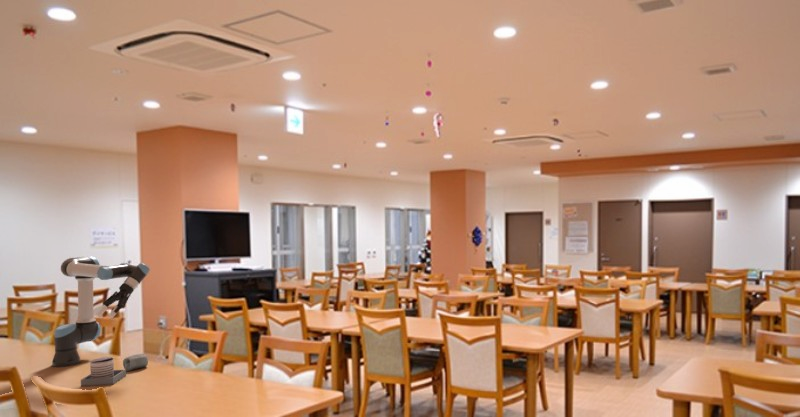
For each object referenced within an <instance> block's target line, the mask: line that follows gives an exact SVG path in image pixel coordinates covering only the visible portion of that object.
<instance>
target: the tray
mask: <svg viewBox="0 0 800 417" xmlns="http://www.w3.org/2000/svg"><path fill="white" fill-rule="evenodd" d="M126 376H127V371H126V370H125V369H114V377H112V378H96V379H91V373H89V374H88V375H86V376H85V377H83V378H80V387H91V386H110V385H109V384H113V385H115V384H116V383H117V381H118V382H120V381H121V380H122V379H123V377H124V378H125V377H126ZM120 379H121V380H120Z"/></svg>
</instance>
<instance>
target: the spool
mask: <svg viewBox="0 0 800 417" xmlns="http://www.w3.org/2000/svg"><path fill="white" fill-rule="evenodd" d="M148 364H149V359H148V356H147V355H146V354H145V353H138V354H133V355H130V356H127V357H125V358H123V361H122V365H123V368H124V369H123V370H126V372H130V371H133V370H137V369H142V368H146V367H147V366H148Z"/></svg>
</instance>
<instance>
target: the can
mask: <svg viewBox="0 0 800 417" xmlns="http://www.w3.org/2000/svg"><path fill="white" fill-rule="evenodd" d="M89 363H90V364H89V366H90V374H91V379H96V378H112V377H114V370H115V369H114V365H115V364H114V356H111V355H110V356H105V357H104V356H103V357H98V358H94V359H91V360H90V361H89Z"/></svg>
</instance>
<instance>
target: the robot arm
mask: <svg viewBox="0 0 800 417" xmlns="http://www.w3.org/2000/svg"><path fill="white" fill-rule="evenodd" d="M60 271H61V274H63V275H64V276H66V277H71V278H72V277H73V278H75V280H76V281H77V307H78V308H77V312H78V313H77V314H78V318H77V319H76V320H75V323H67V324H63V325H60V326H58V327H56V328H55V329H54V333H53V334H54V335H53V337H54V355H53V359H52V362H51V366H52V367H54V368H55V367H57V368H58V367H60V368H62V367H69V366H73V365H77V364H80V363H81V357H80V356H81V355H80V353H79V352H78V346H77V345H79V344H82V343H86V342H92V341H95V340H96V339H97V338H99V336H100V334H101V331H102V330H101V325H100V323H99V322H98V321H97V318H95V317H94V280H95V278H96V279H99V280H101V281H107V280H111V279H112V280H114V279H120V278H126V279H125V280H124V281H123V282H122V284H121V285H120V286H119V287H118V289H119V291H115V292H114V293H113V294H111V296H109V297H108V298H107V299H105V300H104V301H103V302H102V304H103V305H102V306H101V307H100V309H99V310H98V311H97V312H96V315H97V316H98V317H100V318H101V316H102V315H103V314H104V313H105V312H106V310H108V308H109V307H110V306H111V305H112V304H114V303H115V302H117V301H118V303H117V305H116V306H115V307H114V308H113V309H112V310H111V311H110V313H109V314H108V317H110V319H113V318H114V317H115V316H116V315H117V313H119V311H121V309H124V308H125V306H126V304H127V303H128V300H129V298H130V297H131V294H132V293H133V292H134V291H135V290H136V289H137V288H138V286H139V285H140V284H141V283H142V282H143V280H144V279H145V278H146V276H147V275H148V274H149V273H150V271H151V269H150V267H149V266H148V265H147V264H145V263H143V262H140V263H138V264H137V265H133V264H130V263H127V262H126V263H125V262H121V263H120V264H118V265H110V266H109V265H101V264H100V261H99V260H98V259H97V258H96V257H95V256H88V255H87V256H78V257H69V258H67V259H65V260H64V261H63V262H62V263H61V265H60Z"/></svg>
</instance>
